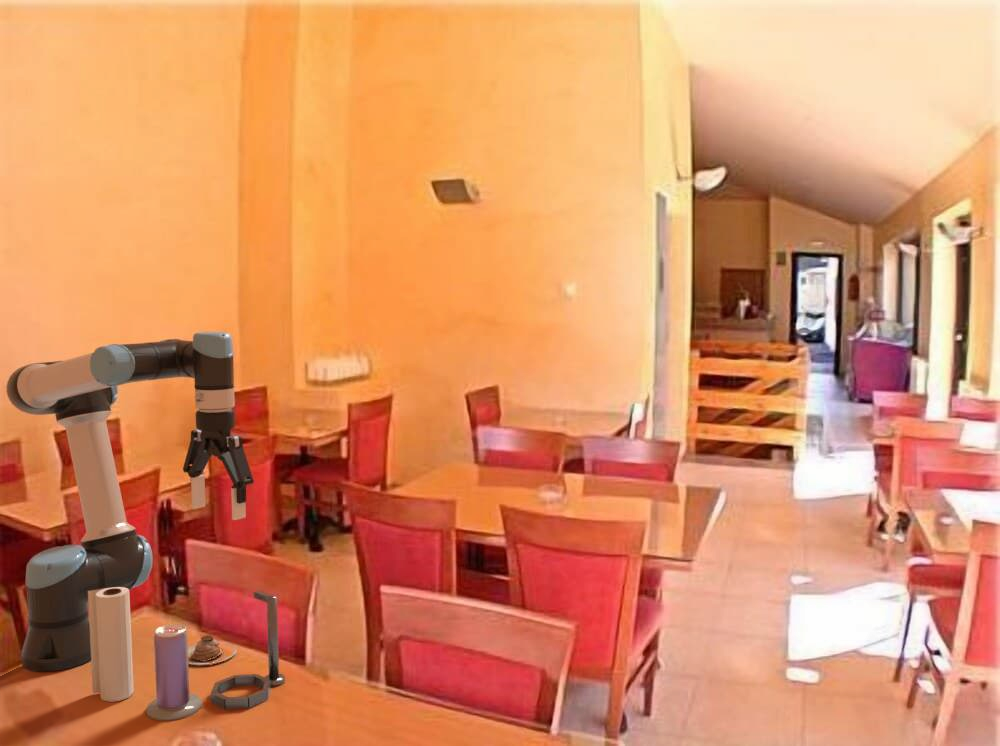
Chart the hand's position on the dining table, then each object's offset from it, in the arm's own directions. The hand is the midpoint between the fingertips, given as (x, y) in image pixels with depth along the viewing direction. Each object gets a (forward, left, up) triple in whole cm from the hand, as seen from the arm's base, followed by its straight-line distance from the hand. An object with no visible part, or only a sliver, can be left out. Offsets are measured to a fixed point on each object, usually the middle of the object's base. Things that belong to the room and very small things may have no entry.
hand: (218, 513), depth 185 cm
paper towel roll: (-10, -18, -35) cm, 41 cm away
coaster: (+4, -14, -35) cm, 38 cm away
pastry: (-12, +4, -35) cm, 38 cm away
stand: (+10, -1, -35) cm, 36 cm away
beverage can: (+4, -14, -34) cm, 37 cm away
